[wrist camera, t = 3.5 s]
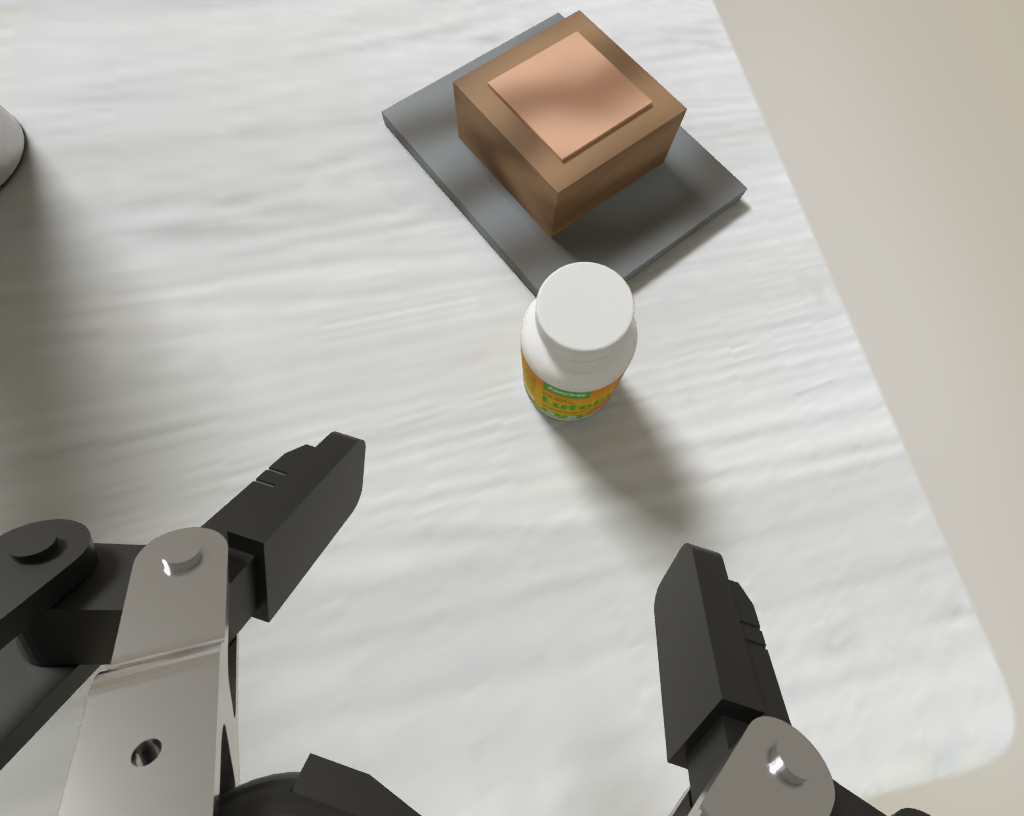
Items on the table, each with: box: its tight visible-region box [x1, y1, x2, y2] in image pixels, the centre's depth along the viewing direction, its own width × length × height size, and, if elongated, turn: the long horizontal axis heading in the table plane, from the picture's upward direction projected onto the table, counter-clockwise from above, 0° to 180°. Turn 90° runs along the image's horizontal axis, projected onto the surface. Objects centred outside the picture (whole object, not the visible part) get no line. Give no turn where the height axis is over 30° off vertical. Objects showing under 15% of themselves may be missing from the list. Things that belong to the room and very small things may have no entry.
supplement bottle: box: [521, 262, 637, 421], centre depth 23 cm, size 5×5×10 cm
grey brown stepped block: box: [382, 10, 747, 298], centre depth 30 cm, size 20×16×5 cm
